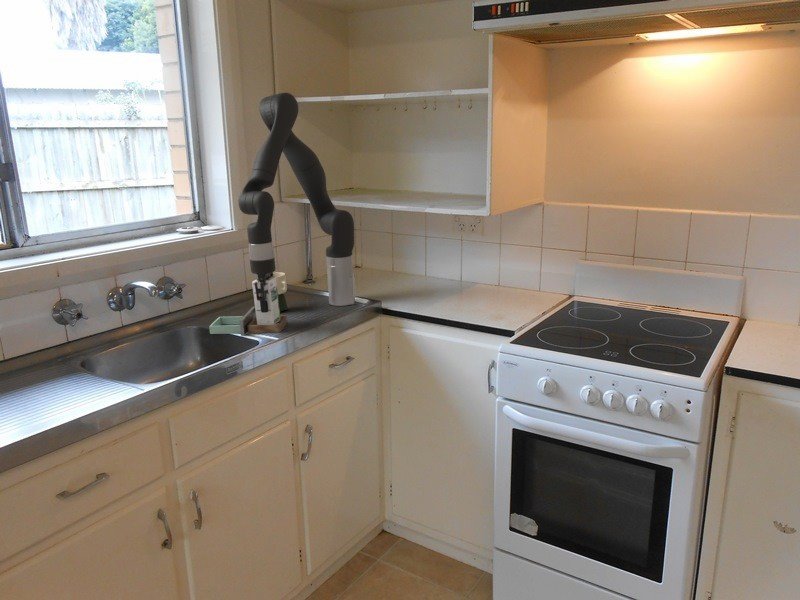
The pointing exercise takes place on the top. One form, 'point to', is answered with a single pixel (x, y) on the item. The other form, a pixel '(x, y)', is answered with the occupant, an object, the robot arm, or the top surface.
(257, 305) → the syrup box
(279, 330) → the brown wooden tray
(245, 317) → the door edge plate
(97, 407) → the top surface
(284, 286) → the character mug
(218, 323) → the tray
